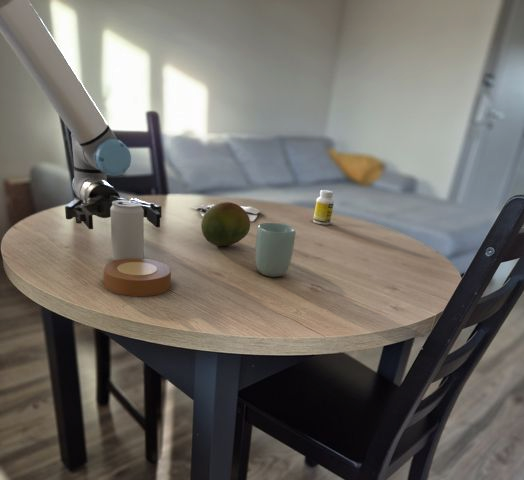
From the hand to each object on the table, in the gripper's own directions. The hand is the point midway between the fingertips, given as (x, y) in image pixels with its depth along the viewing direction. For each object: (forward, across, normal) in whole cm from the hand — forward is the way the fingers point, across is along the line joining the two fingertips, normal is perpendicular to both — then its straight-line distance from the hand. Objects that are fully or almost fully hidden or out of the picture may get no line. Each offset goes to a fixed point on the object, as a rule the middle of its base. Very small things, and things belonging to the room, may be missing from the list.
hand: (125, 221), depth 97 cm
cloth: (-39, -42, -8) cm, 58 cm away
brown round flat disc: (+14, +2, -8) cm, 16 cm away
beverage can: (0, 0, -8) cm, 8 cm away
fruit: (-7, -26, -8) cm, 28 cm away
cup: (+14, -27, -8) cm, 32 cm away
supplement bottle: (-25, -69, -8) cm, 74 cm away
